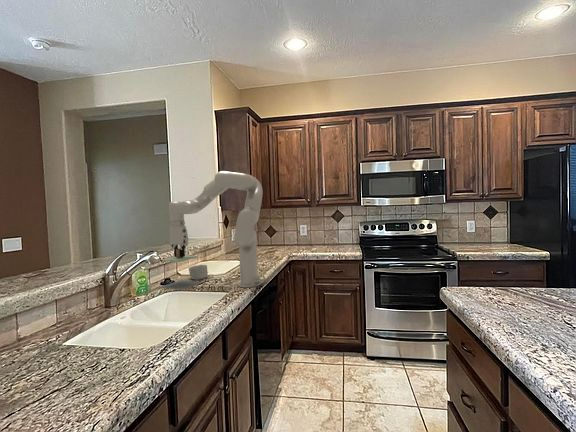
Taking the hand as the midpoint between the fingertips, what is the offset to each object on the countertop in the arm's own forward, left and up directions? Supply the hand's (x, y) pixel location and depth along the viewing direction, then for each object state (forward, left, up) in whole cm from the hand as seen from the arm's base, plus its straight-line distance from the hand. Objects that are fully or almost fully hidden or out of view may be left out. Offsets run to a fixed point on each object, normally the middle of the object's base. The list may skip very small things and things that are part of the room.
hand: (179, 256), depth 185 cm
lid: (0, 0, -2) cm, 2 cm away
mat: (0, 0, -17) cm, 17 cm away
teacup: (+2, -17, -17) cm, 24 cm away
